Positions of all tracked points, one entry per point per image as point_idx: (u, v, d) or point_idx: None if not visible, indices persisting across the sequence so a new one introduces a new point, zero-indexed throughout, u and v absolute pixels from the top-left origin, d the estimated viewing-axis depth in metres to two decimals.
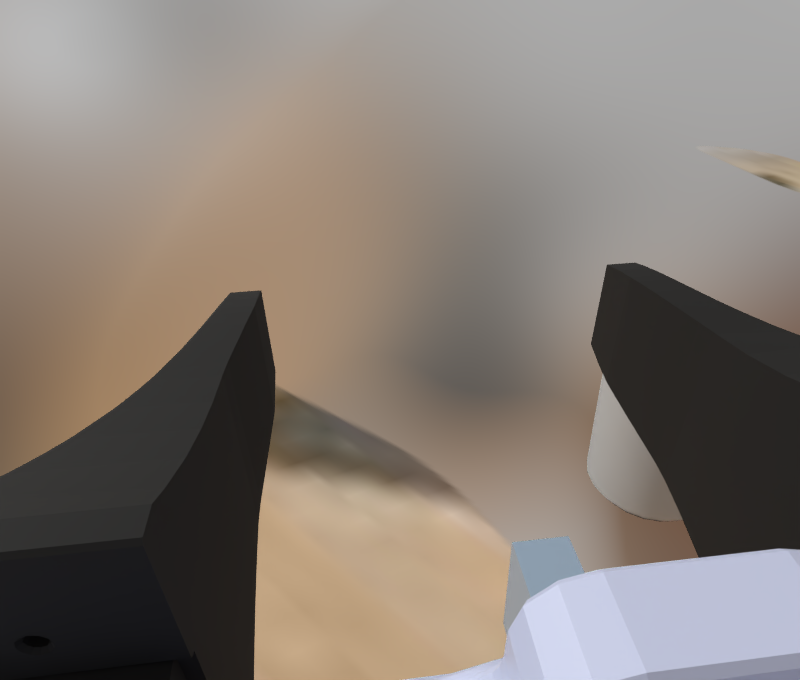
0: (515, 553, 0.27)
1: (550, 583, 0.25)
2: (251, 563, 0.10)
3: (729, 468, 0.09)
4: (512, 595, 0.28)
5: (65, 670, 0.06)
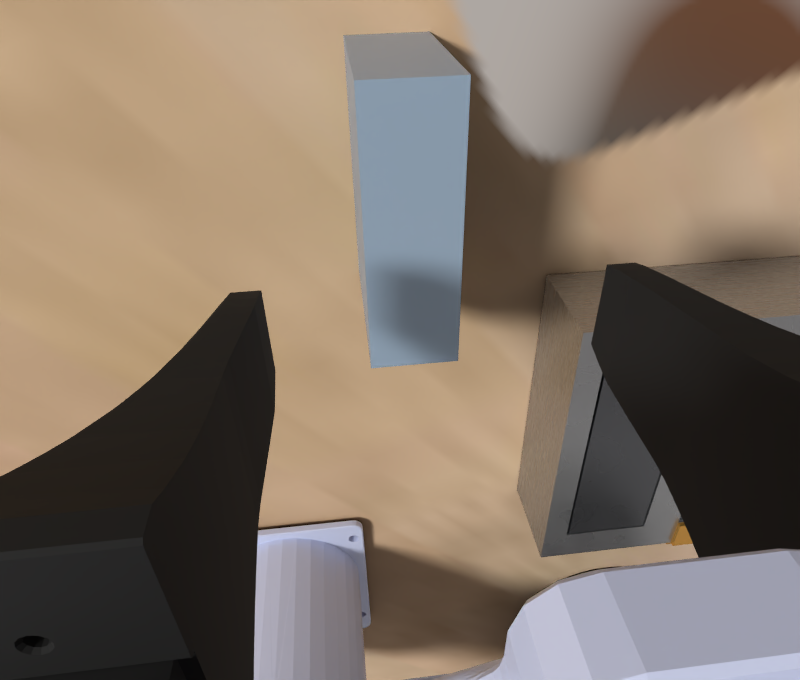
0: (355, 104, 0.14)
1: (401, 178, 0.15)
2: (251, 563, 0.10)
3: (729, 468, 0.09)
4: (350, 88, 0.16)
5: (65, 670, 0.06)
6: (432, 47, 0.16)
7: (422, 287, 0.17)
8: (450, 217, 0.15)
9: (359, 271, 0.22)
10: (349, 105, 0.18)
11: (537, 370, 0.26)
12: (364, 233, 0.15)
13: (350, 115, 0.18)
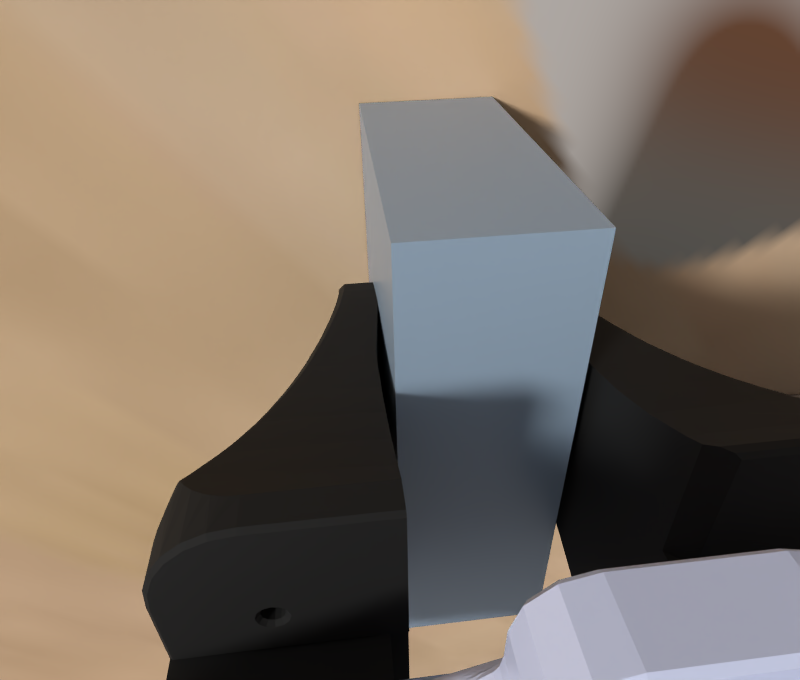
0: (392, 280, 0.07)
1: (469, 391, 0.08)
2: None
3: (586, 483, 0.09)
4: (374, 210, 0.09)
5: (292, 642, 0.06)
6: (511, 138, 0.10)
7: (491, 532, 0.10)
8: (549, 441, 0.09)
9: None
10: (369, 215, 0.11)
11: None
12: (400, 468, 0.09)
13: (370, 233, 0.11)
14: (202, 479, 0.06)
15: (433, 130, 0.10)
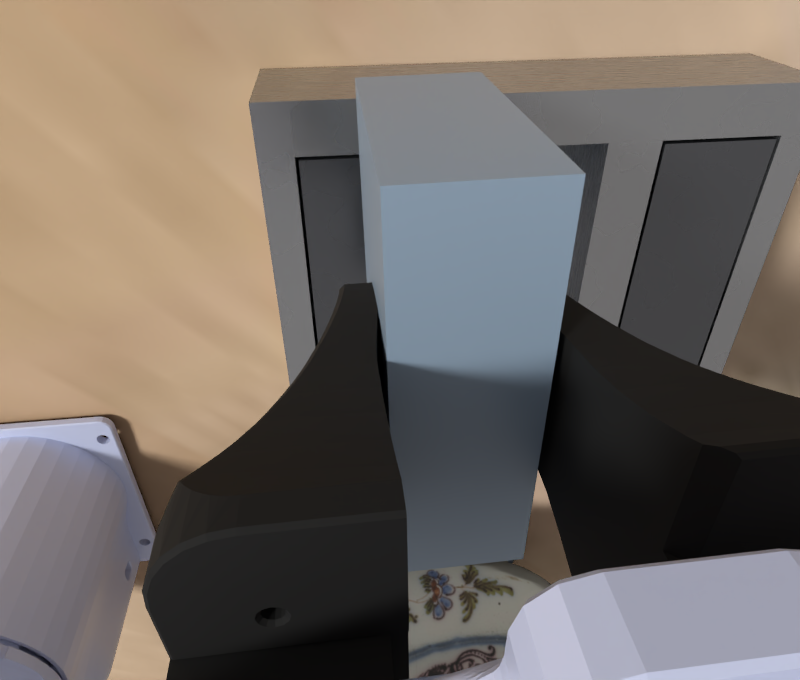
0: (381, 223, 0.08)
1: (454, 332, 0.09)
2: None
3: (587, 483, 0.09)
4: (368, 171, 0.10)
5: (292, 642, 0.06)
6: (495, 105, 0.10)
7: (477, 475, 0.11)
8: (529, 383, 0.10)
9: None
10: (363, 183, 0.12)
11: None
12: (391, 409, 0.10)
13: (365, 199, 0.12)
14: (202, 478, 0.06)
15: (423, 99, 0.11)
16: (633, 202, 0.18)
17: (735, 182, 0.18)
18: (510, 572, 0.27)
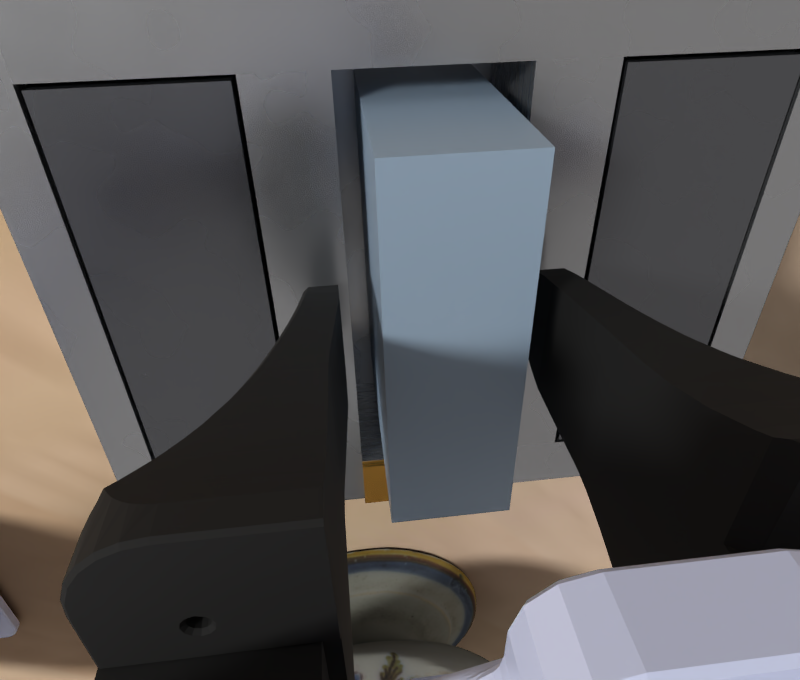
0: (376, 192, 0.09)
1: (442, 292, 0.10)
2: (346, 552, 0.10)
3: (633, 478, 0.09)
4: (364, 150, 0.11)
5: (220, 651, 0.06)
6: (480, 90, 0.11)
7: (465, 428, 0.12)
8: (510, 340, 0.11)
9: None
10: (361, 164, 0.13)
11: None
12: (386, 364, 0.11)
13: (363, 179, 0.13)
14: (126, 487, 0.06)
15: (415, 85, 0.12)
16: (582, 159, 0.12)
17: (741, 126, 0.12)
18: (447, 665, 0.20)
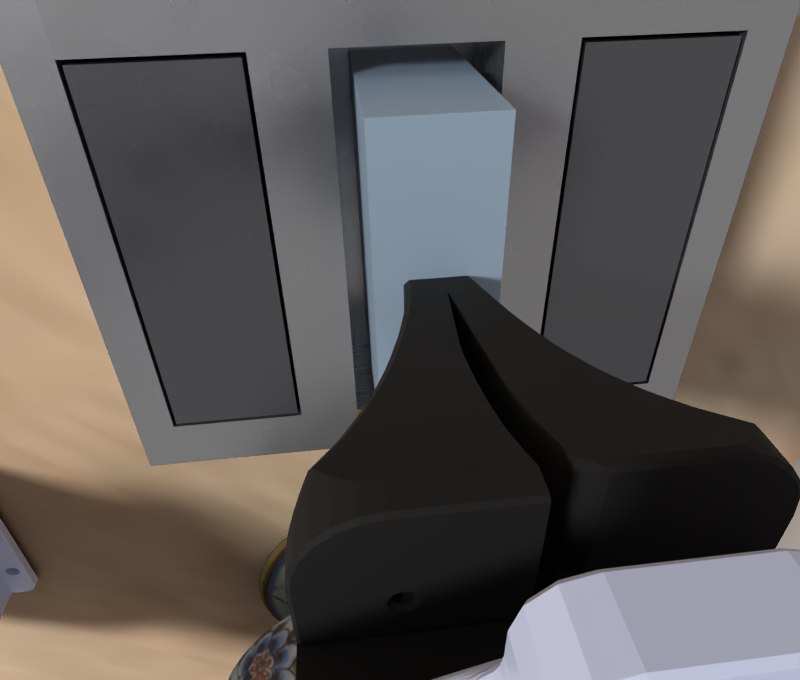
0: (365, 148, 0.11)
1: (423, 238, 0.12)
2: None
3: None
4: (357, 120, 0.13)
5: (417, 627, 0.06)
6: (458, 68, 0.13)
7: None
8: (483, 283, 0.12)
9: (366, 322, 0.19)
10: (355, 136, 0.15)
11: None
12: (375, 303, 0.12)
13: (356, 148, 0.15)
14: (334, 466, 0.06)
15: (402, 64, 0.13)
16: (549, 129, 0.13)
17: (687, 100, 0.13)
18: None
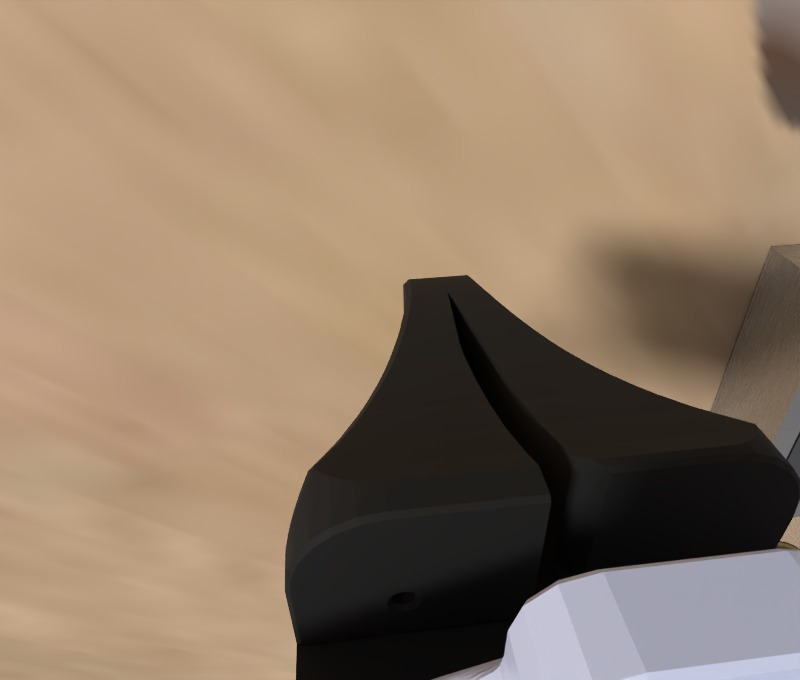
0: None
1: None
2: None
3: None
4: None
5: (417, 627, 0.06)
6: None
7: None
8: None
9: None
10: None
11: (744, 341, 0.27)
12: None
13: None
14: (334, 466, 0.06)
15: None
16: None
17: None
18: None
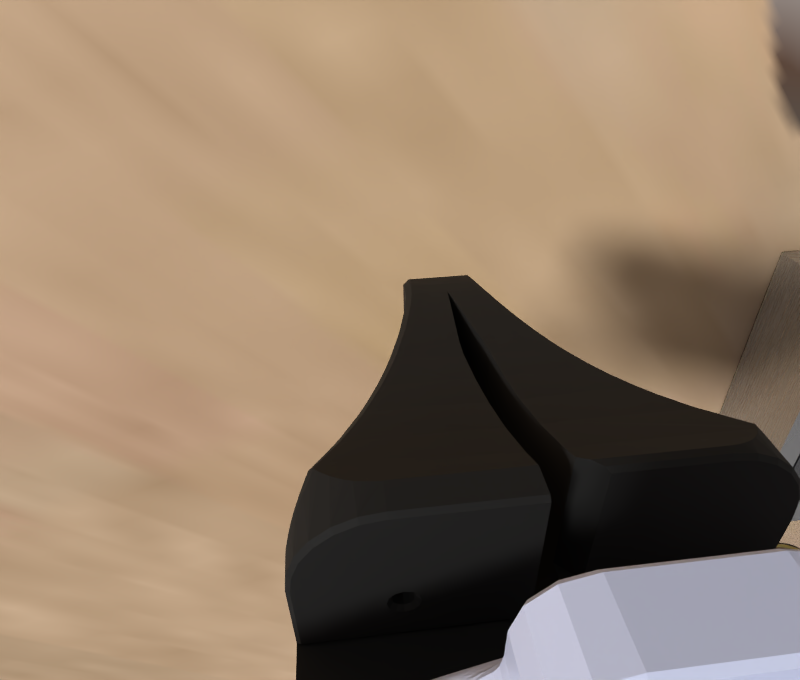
0: None
1: None
2: None
3: None
4: None
5: (417, 627, 0.06)
6: None
7: None
8: None
9: None
10: None
11: (754, 345, 0.27)
12: None
13: None
14: (334, 466, 0.06)
15: None
16: None
17: None
18: None
